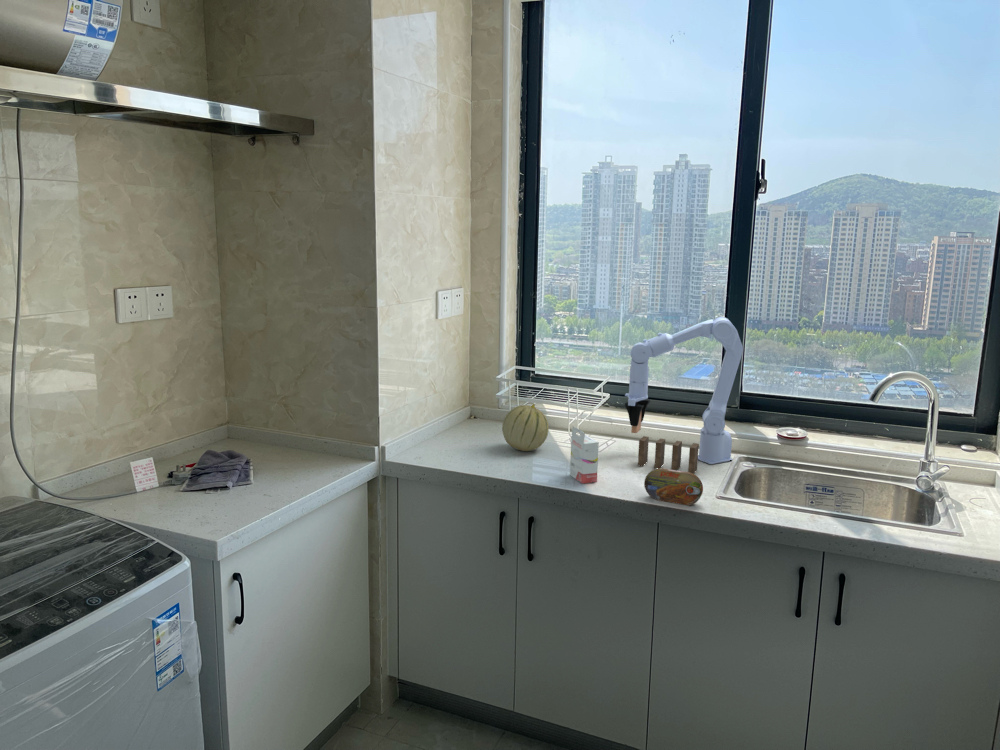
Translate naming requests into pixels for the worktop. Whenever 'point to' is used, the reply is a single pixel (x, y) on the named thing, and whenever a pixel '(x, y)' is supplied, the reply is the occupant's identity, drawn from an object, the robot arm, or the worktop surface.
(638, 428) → the domino
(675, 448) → the domino
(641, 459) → the domino
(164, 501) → the worktop surface
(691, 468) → the domino
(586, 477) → the ink cartridge box
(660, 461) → the domino
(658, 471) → the tin
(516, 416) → the cantaloupe
